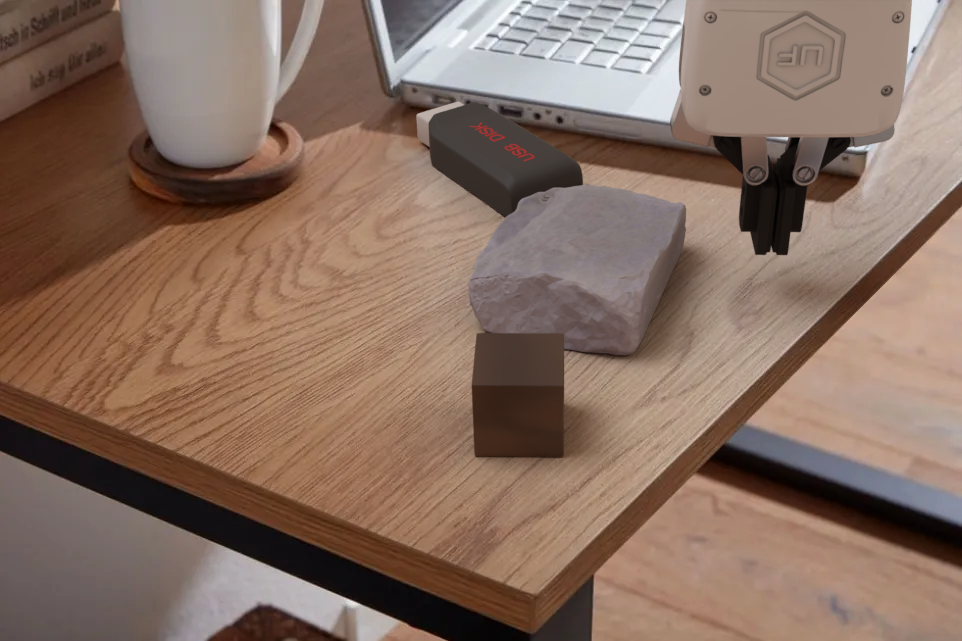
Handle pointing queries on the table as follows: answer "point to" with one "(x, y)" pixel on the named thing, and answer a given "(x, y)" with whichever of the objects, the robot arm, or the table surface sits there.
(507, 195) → the usb drive
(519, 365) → the walnut block
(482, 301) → the stone block
